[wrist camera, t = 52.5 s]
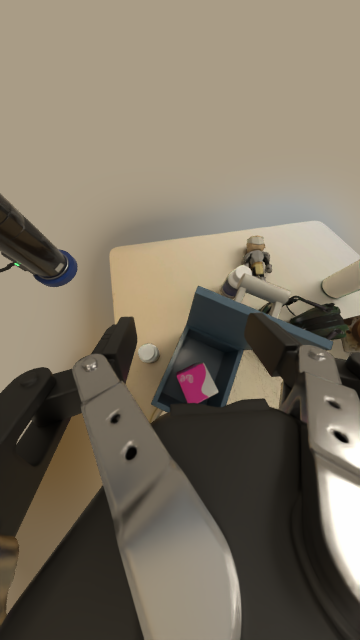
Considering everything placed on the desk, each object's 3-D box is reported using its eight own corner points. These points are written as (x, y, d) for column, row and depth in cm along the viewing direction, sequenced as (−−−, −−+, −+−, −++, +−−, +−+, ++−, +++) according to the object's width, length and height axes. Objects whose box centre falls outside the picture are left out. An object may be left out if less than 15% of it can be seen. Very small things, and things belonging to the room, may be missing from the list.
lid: (331, 350, 13) (344, 298, 14) (194, 292, 14) (215, 248, 15) (244, 349, 30) (252, 326, 31) (186, 324, 31) (196, 302, 32)
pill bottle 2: (235, 301, 44) (252, 285, 35) (218, 295, 45) (229, 278, 35) (240, 286, 46) (257, 266, 36) (223, 280, 46) (235, 259, 37)
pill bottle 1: (143, 345, 40) (135, 342, 33) (159, 345, 40) (156, 341, 33) (142, 363, 39) (135, 363, 31) (160, 362, 39) (156, 362, 32)
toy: (267, 287, 47) (262, 245, 50) (278, 280, 42) (272, 233, 45) (240, 286, 46) (237, 244, 50) (247, 279, 41) (244, 232, 45)
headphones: (321, 282, 40) (246, 300, 42) (381, 302, 29) (276, 327, 30) (310, 323, 47) (247, 337, 48) (356, 352, 36) (271, 371, 37)
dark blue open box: (205, 416, 36) (216, 436, 27) (156, 393, 37) (150, 404, 28) (227, 351, 40) (244, 348, 31) (184, 331, 41) (187, 323, 32)
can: (316, 279, 47) (363, 252, 36) (337, 277, 48) (389, 250, 36) (325, 300, 46) (376, 279, 34) (346, 297, 46) (404, 276, 34)
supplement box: (196, 361, 39) (205, 361, 28) (206, 384, 37) (220, 394, 26) (175, 371, 38) (176, 376, 27) (185, 395, 36) (190, 410, 25)
